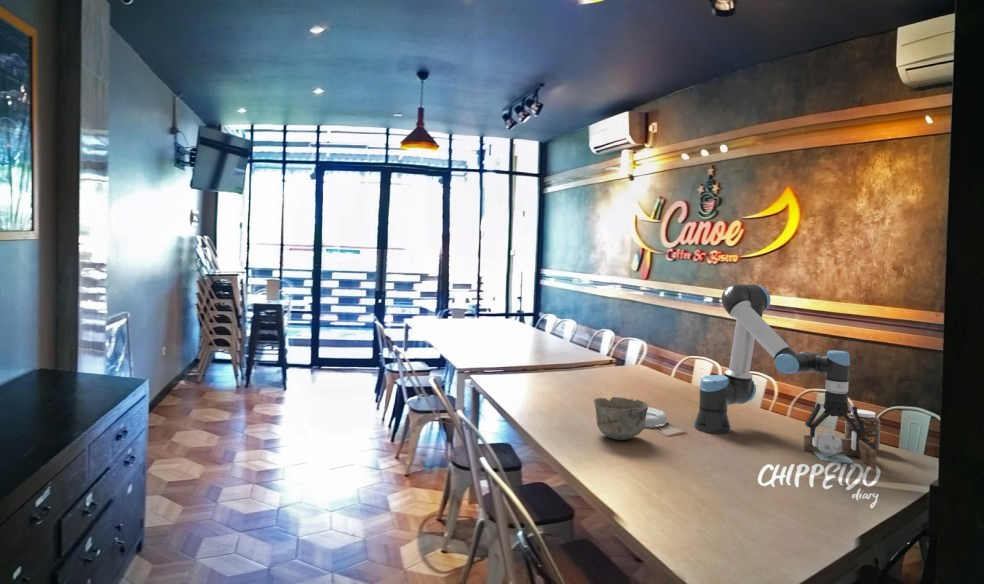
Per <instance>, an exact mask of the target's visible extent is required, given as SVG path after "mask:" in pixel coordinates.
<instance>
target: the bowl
mask: <svg viewBox="0 0 984 584" xmlns="http://www.w3.org/2000/svg"><path fill="white" fill-rule="evenodd" d="M593 403H594V406H595V407H594V408H595V413H596V414H595V419H596V420H595V421H596V425H597V428H598V430H599V431H600V432H601V433H602V434H603V435H605V436H606V437H608V438H610V439H612V440H616V441H626V440H629V439H632V438H634V437H636V436H638V435H640V434H641V433H642V432H643V431H644V429H645V428H646V427H645V421H646V414H647V410H648V407H650V406H649V404H648V403H647V402H646V401H643V400H639V399H635V400H634V399H632V398H630V399H629V398H626V397H620V396H619V397H618V396H617V397H616V396H613V397H611V398H609V399H607V398H606V397H599V398H598V397H597V398H595V399H593Z"/></svg>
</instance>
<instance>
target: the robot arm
mask: <svg viewBox="0 0 984 584" xmlns="http://www.w3.org/2000/svg"><path fill="white" fill-rule="evenodd" d="M721 304H722V307H723V308H724V310H725V312H726V313H727V314H728V315H729V316H730V317H731V318H732V319H736V321H735V327H734V333H733V339H732V347H731V353H730V360H729V367H728V369H727V370H725V371H724V375H722V374H721V375H720V374H719V375H718V374H714V375H713V374H709V375H704V376H703V377H701V378H700V384H699V399H698V400H699V404H698V405H699V407H698V413H697V414H696V417H695V420H694V426H693V427H695V428H694V429H696V430H697V431H700V432H704V433H709V434H720V435H721V434H722V435H724V434H725V435H726V434H729V433H731V431H732V426H731V422H730V418H729V414H728V405H742V404H745V403H749V402H750V401H752V400H753V399H754V398H755V395H756V393H757V387H756V384H755V382H754V380H753V375H752V374H751V366H752V360H753V359H752V358H753V352H754V348H755V347H754V346H755V340H756V341H757V343H759V344H760V345H761V347H762V348H763V349H764V350H765V352H767V353H768V355H770V356H771V358H772V359H773V360H774V362H773V363H774V367H775V369H776V370H777V372H779V373H781V374H785V375H786V374H787V375H792V374H806V373H816V374H823V375H825V385H824V386H825V387H824V389H825V392H824V402H823V403H819V402H817V401H816V402H815V404H814V408H813V410H812V411H811V413H810V414H809V416H808V418H807V419H806V421H805V423H804V425H805V426H806V427H807V428H809V435H810V436H811V437H813V441H812V445H813V446H814V447H817V436H818V429H817V427H818V426H820V424H822V423H823V422H824V420H826V419H827V418H828V417H830V416H831V417H838V418H841V417H843V418H844V420H845V422H846V421H847V422H848V423H849V425H850V426H851V427H852V428H853V430H854V431H855V432H854V431H852V438H851V449H853V450H856V441H859V434H860V433H861V432H865V428H864V426H863V424H862V422H861V419H860V417H859V415H858V413H857V409H858V407H857V406H855V405H848V402H849V400H848V399H849V394H848V392H849V382H850V381H849V379H850V378H849V377H850V366H851V363H850V362H851V361H850V360H851V359H850V353H849V352H848V351H845V350H835V349H833V350H831V349H830V350H828V351H827V352H826V354H822V353H818V352H817V353H816V352H812V351H799V352H798V353H796V351H794V350H793V349H792V348H791V347H790V345H788V344H787V342H785V341H784V340H783V338H782V337H781V336H780V335H779V334H778V333H777V332H776V331H775V330H774V329H773V328H772V327H771V326H770V325H769V323H767V322H766V321H765V320H764V318H763V313H764V311H766V310H767V309H768V308H769V306H770V305H771V296H770V292H768V290H767V289H766V287H764V286H762V285H760V284H751V283H750V284H749V283H747V284H745V283H743V284H739V283H735V284H731V285H729V286H727V287H726V288H725V289H724V290H723V292H722V293H721ZM822 409H824V410H823V412H822V413H821V414H820V415H819V416H818V414H819V412H820V410H822ZM848 411H850V413H851V412H852V414H853V416H854V418H855V420H856V422H857V424H858V427H859V428H857V427H856V425H855V424H854V423H853V422H852V421H851V419H850V418H849V417H848V415H847V412H848ZM817 416H818V417H817ZM816 417H817V418H816Z"/></svg>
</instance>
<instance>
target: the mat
mask: <svg viewBox="0 0 984 584" xmlns="http://www.w3.org/2000/svg"><path fill="white" fill-rule="evenodd" d="M813 454H815V456H816V457H818V459H819V460H821V461H822V462H831V463H832V462H833V463H834V462H835V463H842V464H853V465H854V464H855V462H854V460H852V459H851V458H850V457H848V455H845V454H835V455H832V456H830V457H828V456H826V455H825V454H824V453H822V452H815V451H813Z"/></svg>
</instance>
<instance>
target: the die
mask: <svg viewBox="0 0 984 584" xmlns="http://www.w3.org/2000/svg"><path fill="white" fill-rule="evenodd" d="M840 438H841V437H839V436H838V435H836V434H835V433H833V432H832V431H830V430H829V431H826V432H824V433H820V434H819V435H817V448H818V449H819V450H820V451H821V452H822V453H824V454H825V455H826V456H828V457H830V456H832V455H835V454H837V453H840V452H842V441H841V439H840Z"/></svg>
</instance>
